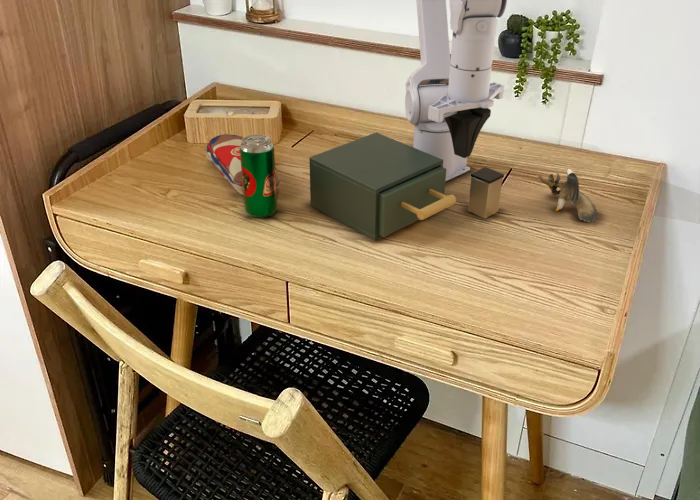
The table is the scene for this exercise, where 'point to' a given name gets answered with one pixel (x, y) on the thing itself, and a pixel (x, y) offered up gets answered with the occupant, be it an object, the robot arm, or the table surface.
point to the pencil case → (229, 159)
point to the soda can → (258, 175)
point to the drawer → (413, 201)
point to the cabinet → (363, 178)
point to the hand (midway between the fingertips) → (462, 154)
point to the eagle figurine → (571, 195)
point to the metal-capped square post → (485, 192)
